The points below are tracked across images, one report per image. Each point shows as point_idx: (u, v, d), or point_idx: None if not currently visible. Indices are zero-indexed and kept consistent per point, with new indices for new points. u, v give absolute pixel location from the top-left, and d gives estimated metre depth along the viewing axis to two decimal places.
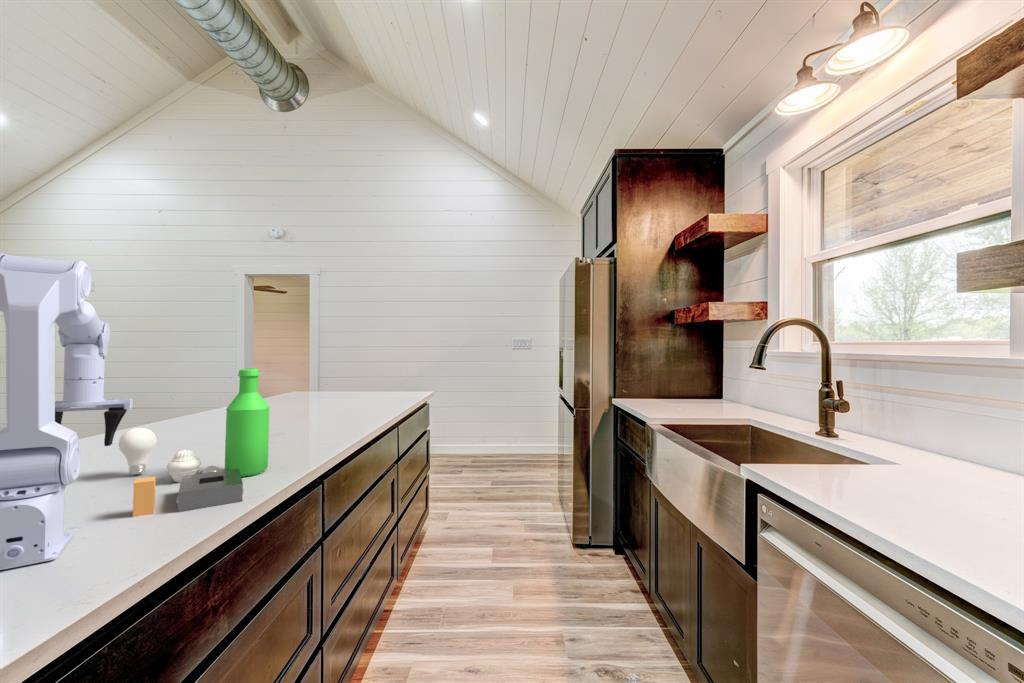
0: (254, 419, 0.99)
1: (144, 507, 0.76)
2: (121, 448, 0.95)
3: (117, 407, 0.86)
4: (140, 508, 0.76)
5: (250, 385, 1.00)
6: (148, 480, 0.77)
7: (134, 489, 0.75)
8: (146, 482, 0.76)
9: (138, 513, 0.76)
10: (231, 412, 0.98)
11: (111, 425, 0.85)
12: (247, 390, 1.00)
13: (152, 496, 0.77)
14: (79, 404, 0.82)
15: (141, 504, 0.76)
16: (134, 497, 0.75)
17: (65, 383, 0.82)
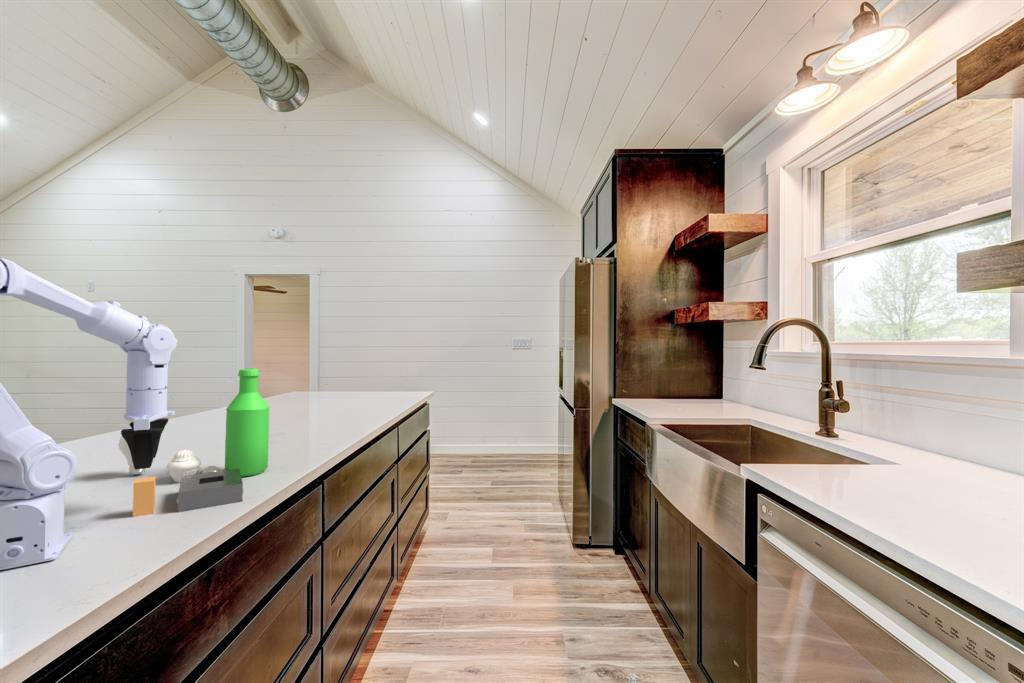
0: (254, 419, 0.99)
1: (144, 507, 0.76)
2: (121, 448, 0.95)
3: None
4: (140, 508, 0.76)
5: (250, 385, 1.00)
6: (148, 480, 0.77)
7: (134, 489, 0.75)
8: (146, 482, 0.76)
9: (138, 513, 0.76)
10: (231, 412, 0.98)
11: None
12: (247, 390, 1.00)
13: (152, 496, 0.77)
14: None
15: (141, 504, 0.76)
16: (134, 497, 0.75)
17: None
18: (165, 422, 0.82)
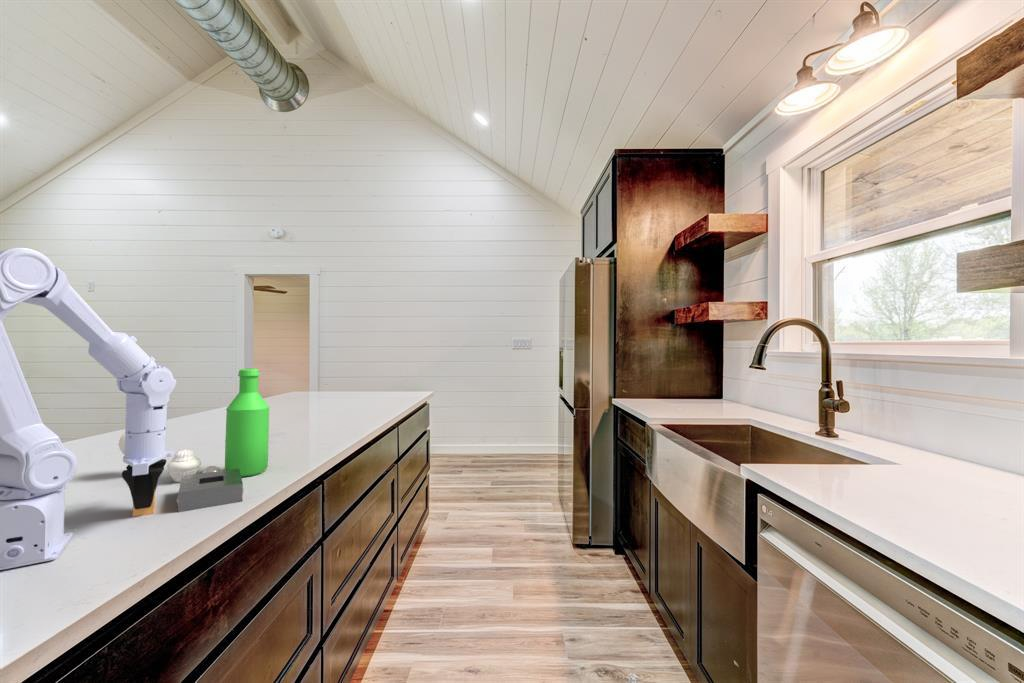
0: (254, 419, 0.99)
1: None
2: (121, 448, 0.95)
3: None
4: None
5: (250, 385, 1.00)
6: None
7: None
8: None
9: (138, 513, 0.76)
10: (231, 412, 0.98)
11: (129, 487, 0.74)
12: (247, 390, 1.00)
13: None
14: (123, 458, 0.75)
15: None
16: None
17: None
18: (163, 464, 0.80)
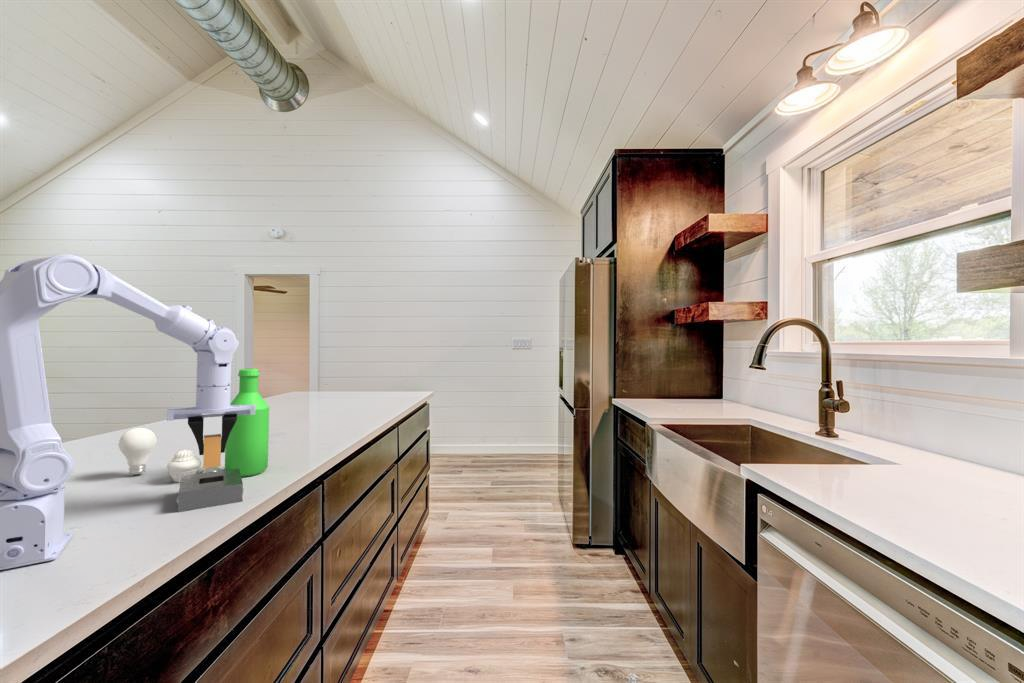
0: (254, 419, 0.99)
1: None
2: (121, 448, 0.95)
3: (231, 414, 0.87)
4: None
5: (250, 385, 1.00)
6: (217, 435, 0.86)
7: None
8: (220, 435, 0.86)
9: None
10: None
11: (227, 432, 0.85)
12: (247, 390, 1.00)
13: None
14: (214, 410, 0.83)
15: None
16: (220, 448, 0.85)
17: (200, 390, 0.83)
18: (203, 418, 0.86)
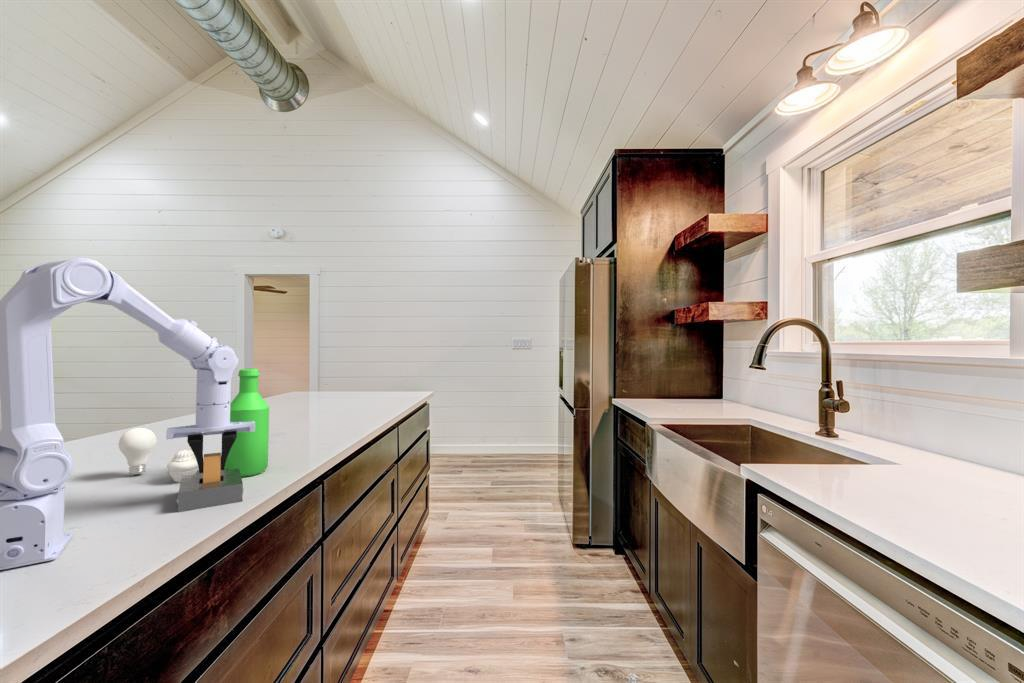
0: (254, 419, 0.99)
1: None
2: (121, 448, 0.95)
3: (231, 431, 0.87)
4: None
5: (250, 385, 1.00)
6: (216, 453, 0.86)
7: (220, 460, 0.85)
8: (220, 454, 0.86)
9: None
10: (231, 412, 0.98)
11: (227, 449, 0.85)
12: (247, 390, 1.00)
13: None
14: (214, 429, 0.83)
15: None
16: (220, 467, 0.85)
17: (199, 408, 0.83)
18: None
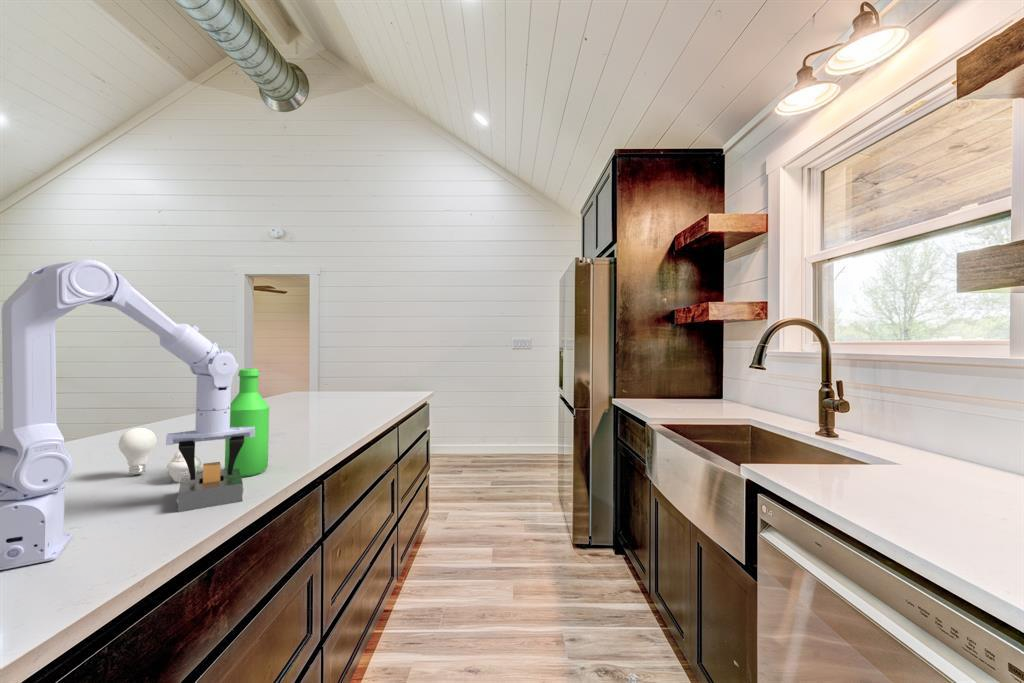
0: (254, 419, 0.99)
1: None
2: (121, 448, 0.95)
3: (238, 436, 0.88)
4: None
5: (250, 385, 1.00)
6: (216, 463, 0.86)
7: None
8: None
9: None
10: (231, 412, 0.98)
11: (235, 454, 0.86)
12: (247, 390, 1.00)
13: None
14: (214, 434, 0.83)
15: None
16: None
17: (199, 414, 0.83)
18: None
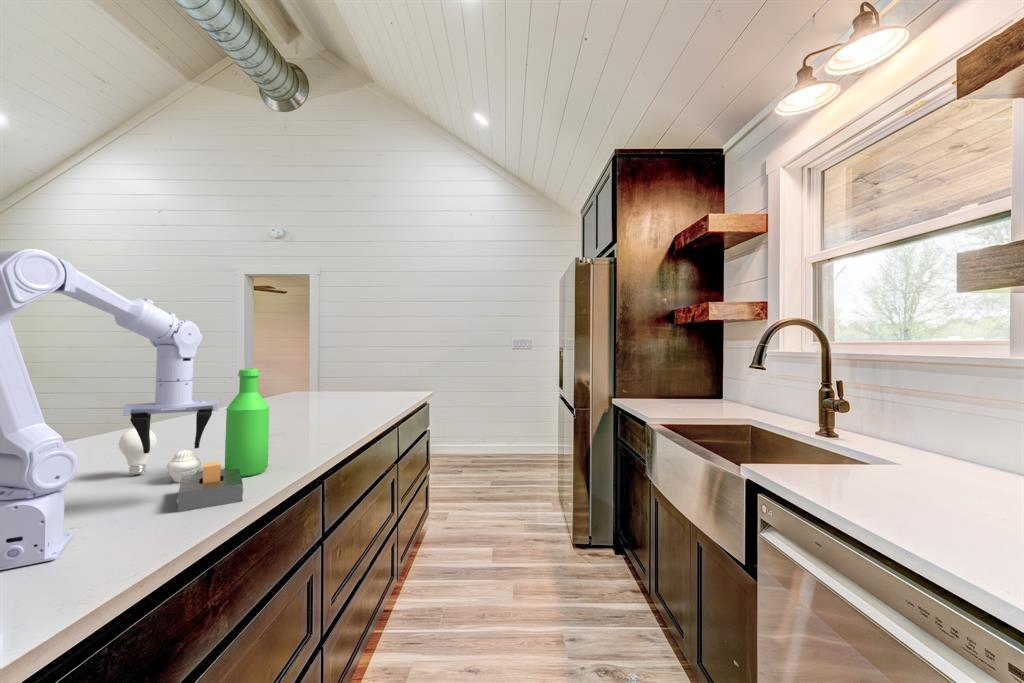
0: (254, 419, 0.99)
1: None
2: (121, 448, 0.95)
3: (206, 409, 0.85)
4: None
5: (250, 385, 1.00)
6: (216, 463, 0.86)
7: None
8: None
9: None
10: (231, 412, 0.98)
11: (202, 427, 0.84)
12: (247, 390, 1.00)
13: None
14: (173, 406, 0.81)
15: None
16: None
17: (159, 385, 0.80)
18: (150, 415, 0.83)
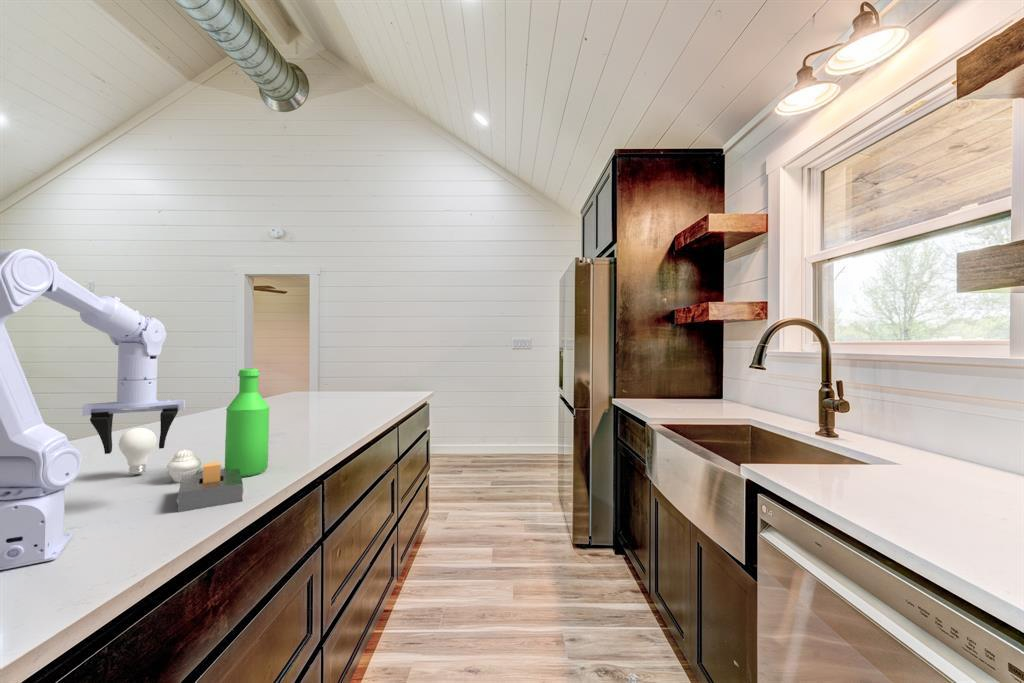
0: (254, 419, 0.99)
1: None
2: (121, 448, 0.95)
3: (171, 408, 0.83)
4: None
5: (250, 385, 1.00)
6: (216, 463, 0.86)
7: None
8: None
9: None
10: (231, 412, 0.98)
11: (166, 427, 0.82)
12: (247, 390, 1.00)
13: None
14: (136, 405, 0.79)
15: None
16: None
17: (120, 383, 0.78)
18: (112, 415, 0.81)
